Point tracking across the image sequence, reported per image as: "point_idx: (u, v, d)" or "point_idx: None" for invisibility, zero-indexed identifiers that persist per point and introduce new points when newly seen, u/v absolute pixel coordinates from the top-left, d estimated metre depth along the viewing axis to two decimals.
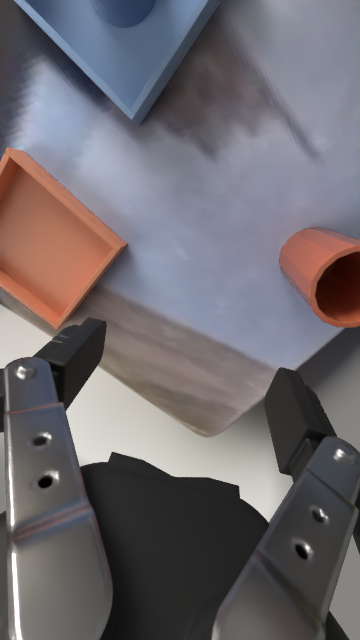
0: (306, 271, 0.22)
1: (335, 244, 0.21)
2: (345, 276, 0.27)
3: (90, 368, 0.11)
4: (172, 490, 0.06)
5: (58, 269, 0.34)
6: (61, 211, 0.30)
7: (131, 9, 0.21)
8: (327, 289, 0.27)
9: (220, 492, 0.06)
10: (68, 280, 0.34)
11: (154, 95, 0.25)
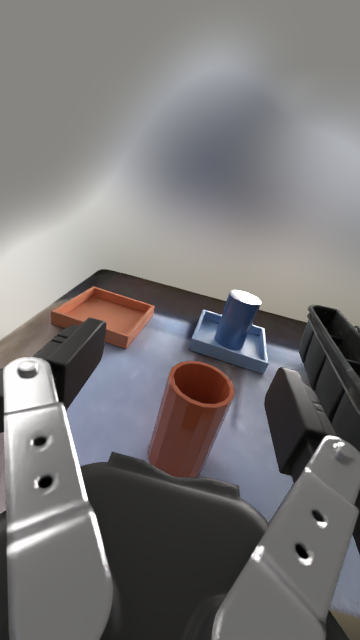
0: None
1: None
2: None
3: (90, 368, 0.11)
4: (172, 490, 0.06)
5: None
6: (132, 323, 0.53)
7: (224, 337, 0.52)
8: None
9: (220, 491, 0.06)
10: None
11: (204, 349, 0.49)
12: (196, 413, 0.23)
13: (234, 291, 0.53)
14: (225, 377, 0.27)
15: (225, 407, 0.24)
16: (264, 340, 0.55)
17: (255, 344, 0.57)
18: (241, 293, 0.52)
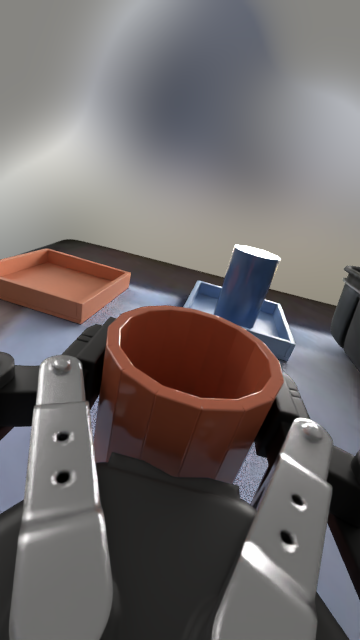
0: None
1: None
2: None
3: None
4: (172, 490, 0.06)
5: (39, 287, 0.35)
6: None
7: (227, 310, 0.37)
8: None
9: (220, 492, 0.06)
10: None
11: None
12: (180, 430, 0.07)
13: (241, 246, 0.37)
14: (252, 338, 0.11)
15: (266, 409, 0.08)
16: (283, 316, 0.40)
17: (270, 323, 0.42)
18: (252, 249, 0.37)
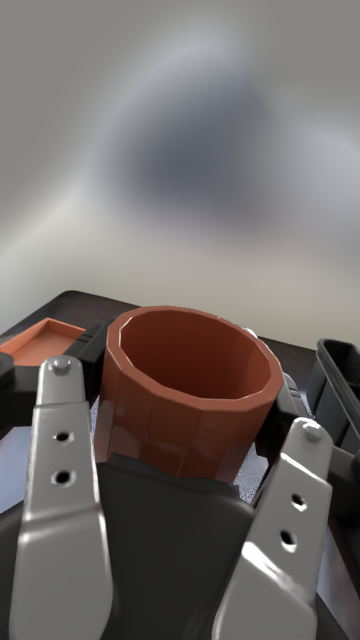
0: None
1: None
2: None
3: None
4: (172, 490, 0.06)
5: None
6: None
7: None
8: None
9: (220, 491, 0.06)
10: None
11: None
12: (180, 430, 0.07)
13: None
14: (252, 338, 0.11)
15: (267, 409, 0.08)
16: None
17: None
18: None
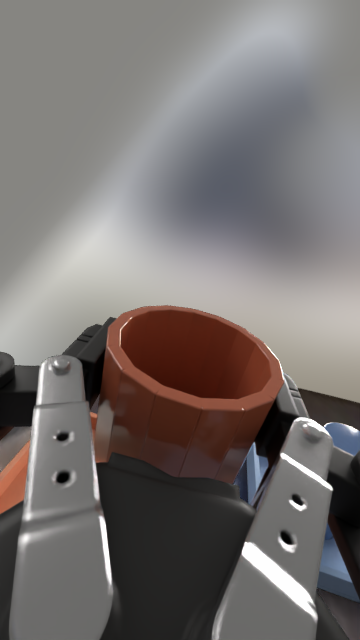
0: None
1: None
2: None
3: None
4: (172, 490, 0.06)
5: None
6: None
7: None
8: None
9: (220, 491, 0.06)
10: None
11: None
12: (181, 430, 0.07)
13: (329, 430, 0.28)
14: (252, 338, 0.11)
15: (267, 409, 0.08)
16: None
17: None
18: (344, 435, 0.27)
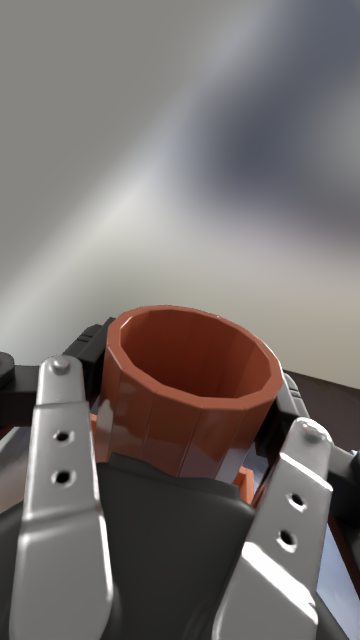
0: None
1: None
2: None
3: None
4: (172, 490, 0.06)
5: None
6: None
7: None
8: None
9: (220, 492, 0.06)
10: None
11: None
12: (180, 429, 0.07)
13: None
14: (252, 337, 0.11)
15: (266, 408, 0.08)
16: None
17: None
18: None
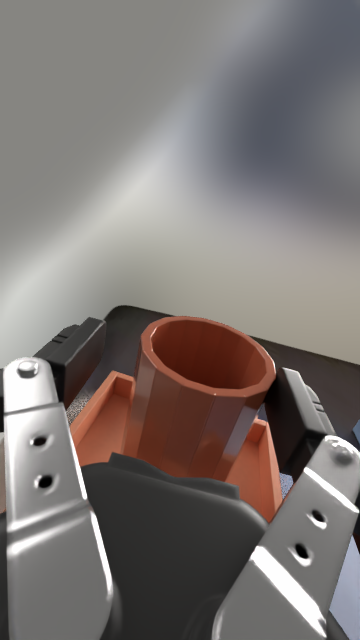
0: None
1: None
2: None
3: (90, 368, 0.11)
4: (172, 490, 0.06)
5: None
6: None
7: None
8: None
9: (220, 492, 0.06)
10: None
11: None
12: (200, 411, 0.10)
13: None
14: (252, 342, 0.14)
15: (262, 397, 0.11)
16: None
17: None
18: None
